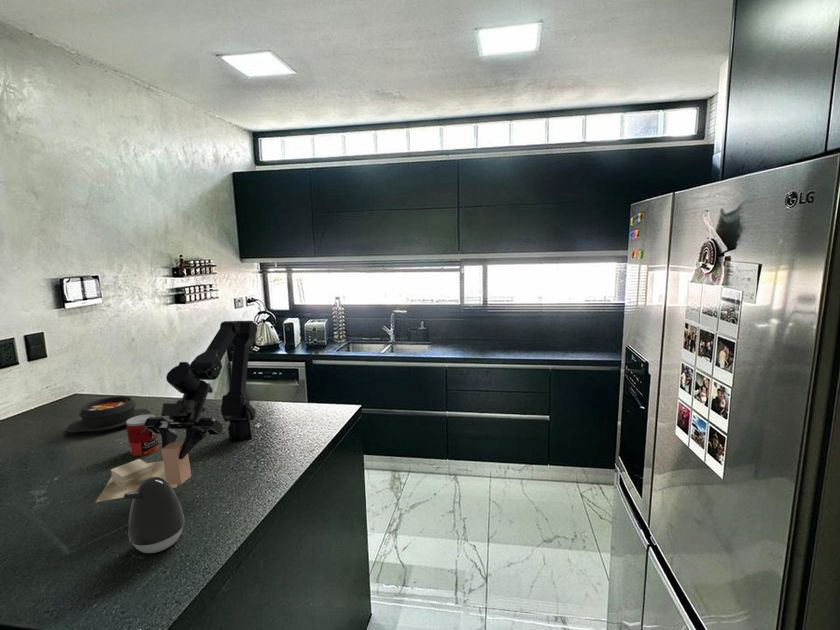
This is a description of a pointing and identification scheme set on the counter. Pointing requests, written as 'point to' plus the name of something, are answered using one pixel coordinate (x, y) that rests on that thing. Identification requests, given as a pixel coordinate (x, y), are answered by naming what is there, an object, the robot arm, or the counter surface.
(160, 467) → the beige square cloth
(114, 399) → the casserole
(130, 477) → the slab top
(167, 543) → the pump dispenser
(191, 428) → the robot arm
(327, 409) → the counter surface
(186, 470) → the post
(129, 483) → the slab bottom
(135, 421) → the canned food
